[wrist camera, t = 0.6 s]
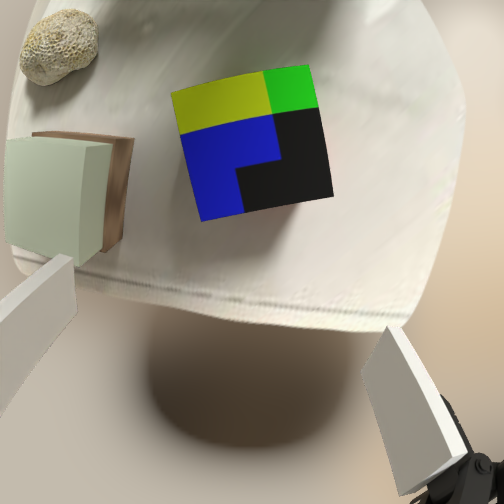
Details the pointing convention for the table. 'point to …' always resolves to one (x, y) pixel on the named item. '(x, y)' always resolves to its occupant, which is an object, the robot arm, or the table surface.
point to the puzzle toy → (253, 142)
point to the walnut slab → (115, 179)
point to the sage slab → (56, 195)
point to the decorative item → (59, 46)
